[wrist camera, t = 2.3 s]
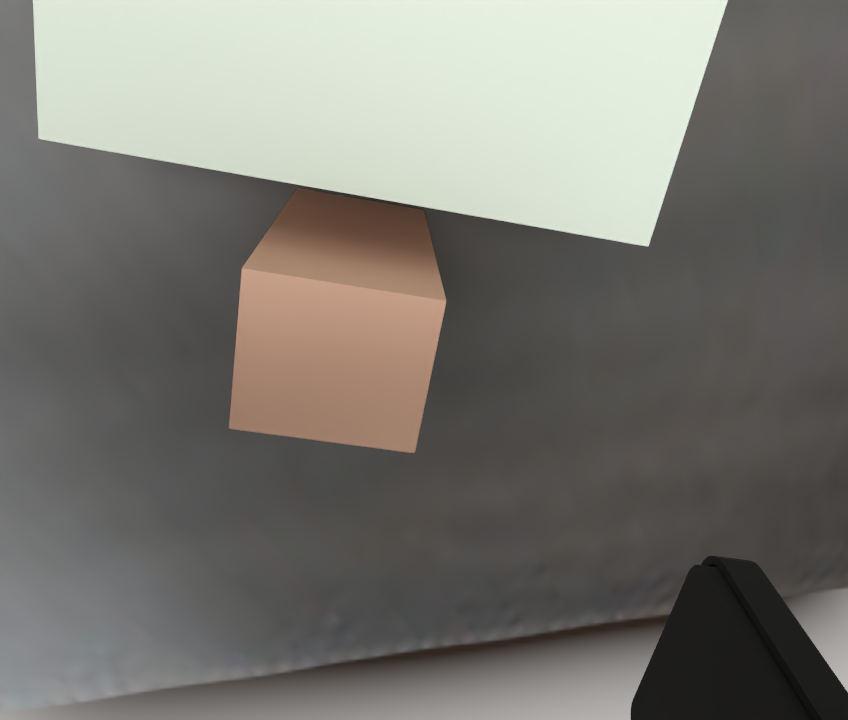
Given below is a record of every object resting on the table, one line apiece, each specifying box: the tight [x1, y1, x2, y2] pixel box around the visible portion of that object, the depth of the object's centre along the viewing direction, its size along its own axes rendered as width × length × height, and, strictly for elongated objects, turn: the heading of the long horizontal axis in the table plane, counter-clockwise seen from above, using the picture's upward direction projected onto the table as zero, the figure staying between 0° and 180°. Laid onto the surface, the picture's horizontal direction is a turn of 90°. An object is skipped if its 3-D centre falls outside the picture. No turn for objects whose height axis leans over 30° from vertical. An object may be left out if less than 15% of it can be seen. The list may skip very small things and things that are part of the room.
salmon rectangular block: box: [229, 188, 446, 453], centre depth 20 cm, size 4×4×10 cm
